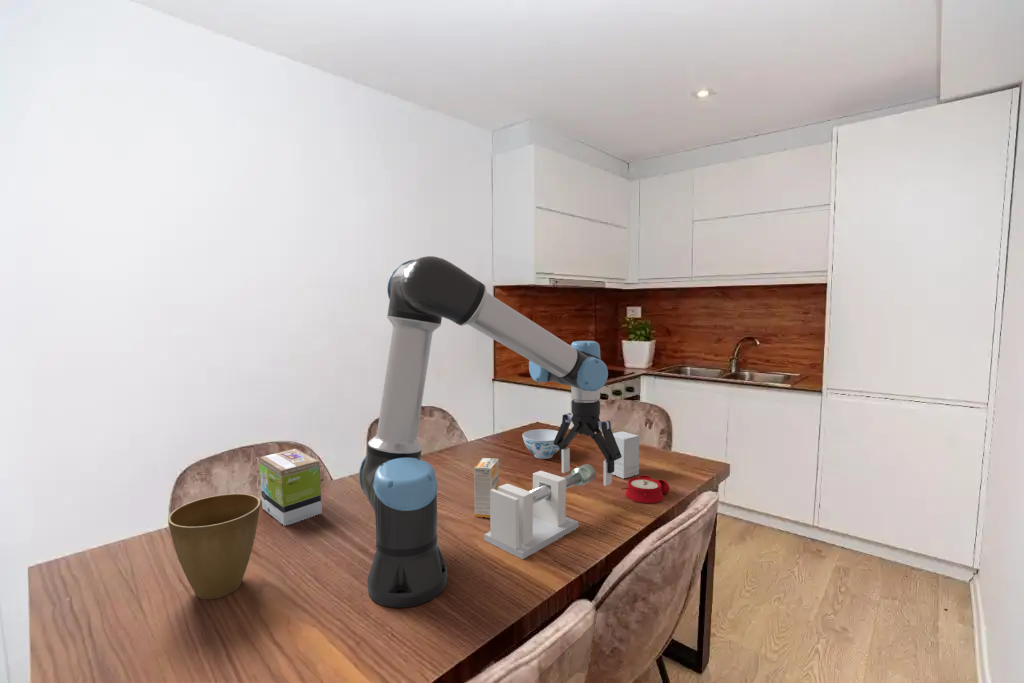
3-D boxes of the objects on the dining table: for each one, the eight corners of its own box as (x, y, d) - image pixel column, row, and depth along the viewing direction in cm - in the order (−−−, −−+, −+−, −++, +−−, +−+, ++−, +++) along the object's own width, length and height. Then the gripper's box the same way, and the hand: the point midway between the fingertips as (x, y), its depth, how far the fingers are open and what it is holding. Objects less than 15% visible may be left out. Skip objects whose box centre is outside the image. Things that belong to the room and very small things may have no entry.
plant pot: (163, 622, 83) (157, 532, 81) (183, 577, 96) (178, 500, 95) (260, 600, 89) (256, 516, 87) (266, 561, 102) (262, 488, 101)
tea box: (260, 509, 128) (258, 455, 126) (298, 498, 135) (296, 447, 134) (283, 527, 117) (281, 469, 116) (323, 514, 125) (321, 459, 124)
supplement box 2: (639, 474, 152) (640, 435, 151) (623, 479, 148) (624, 439, 147) (622, 468, 159) (622, 430, 158) (606, 472, 154) (606, 434, 153)
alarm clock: (616, 485, 134) (643, 461, 144) (618, 505, 136) (645, 480, 146) (649, 496, 127) (675, 469, 137) (652, 516, 128) (677, 489, 138)
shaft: (581, 478, 131) (581, 462, 130) (595, 483, 127) (595, 466, 127) (524, 504, 114) (524, 485, 114) (538, 510, 111) (538, 490, 111)
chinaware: (566, 462, 164) (566, 440, 163) (522, 462, 164) (522, 440, 163) (562, 449, 179) (562, 429, 178) (522, 449, 179) (522, 429, 178)
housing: (541, 512, 125) (541, 466, 124) (578, 527, 117) (578, 477, 116) (484, 540, 111) (484, 487, 110) (522, 559, 102) (522, 502, 101)
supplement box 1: (492, 518, 122) (491, 468, 121) (474, 517, 123) (473, 467, 122) (499, 505, 130) (499, 458, 129) (482, 504, 131) (481, 457, 130)
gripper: (635, 403, 120) (634, 485, 122) (557, 391, 138) (558, 463, 139) (619, 409, 115) (618, 494, 117) (540, 395, 132) (541, 470, 134)
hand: (585, 477), depth 128 cm, fingers open, 13 cm apart
